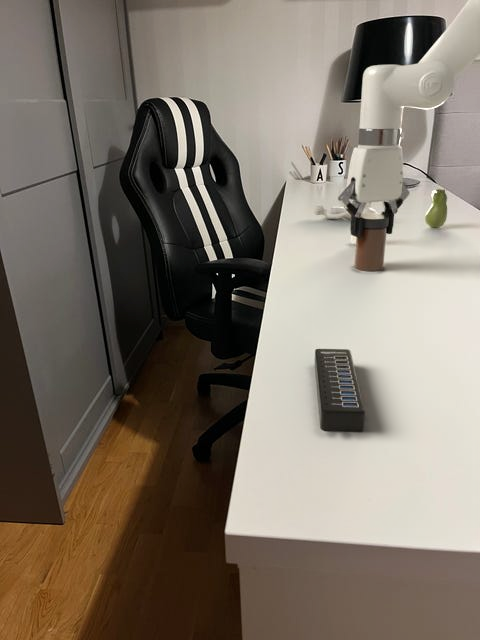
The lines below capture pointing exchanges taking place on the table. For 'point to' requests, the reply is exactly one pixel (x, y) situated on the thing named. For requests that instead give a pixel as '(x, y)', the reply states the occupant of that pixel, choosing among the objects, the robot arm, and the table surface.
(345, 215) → the male figure
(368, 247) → the jar
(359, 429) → the multiport hub
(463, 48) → the robot arm
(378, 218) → the lid
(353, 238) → the eye dropper bottle
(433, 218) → the pear
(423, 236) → the table surface
